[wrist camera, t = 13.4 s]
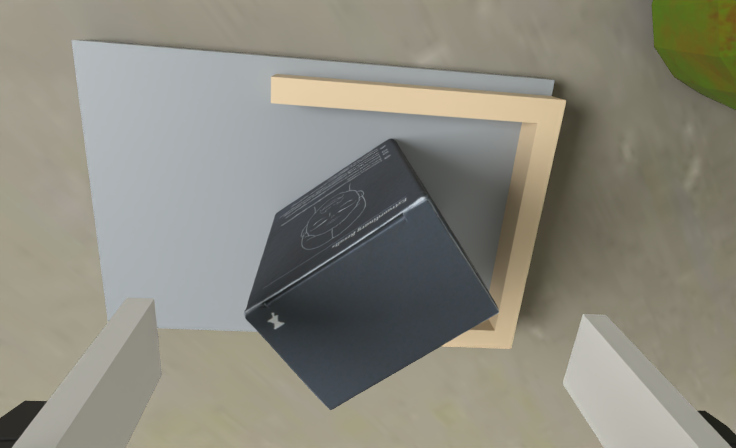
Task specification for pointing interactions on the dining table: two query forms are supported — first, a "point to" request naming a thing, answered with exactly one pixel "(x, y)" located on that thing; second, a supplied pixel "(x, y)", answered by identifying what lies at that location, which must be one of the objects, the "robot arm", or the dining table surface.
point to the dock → (296, 166)
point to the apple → (699, 44)
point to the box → (363, 278)
